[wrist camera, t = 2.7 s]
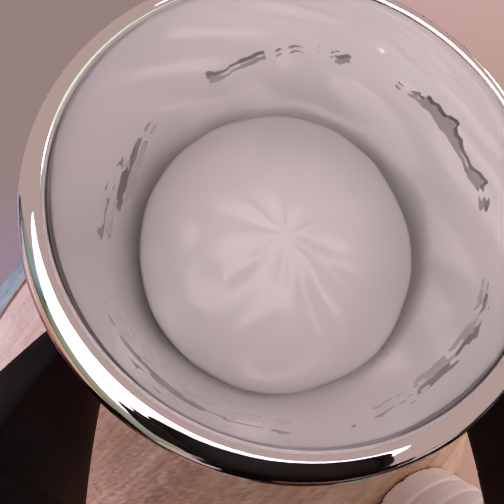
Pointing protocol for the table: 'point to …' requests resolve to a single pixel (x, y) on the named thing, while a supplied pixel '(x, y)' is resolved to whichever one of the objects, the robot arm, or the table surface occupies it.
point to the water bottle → (433, 489)
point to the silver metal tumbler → (274, 233)
